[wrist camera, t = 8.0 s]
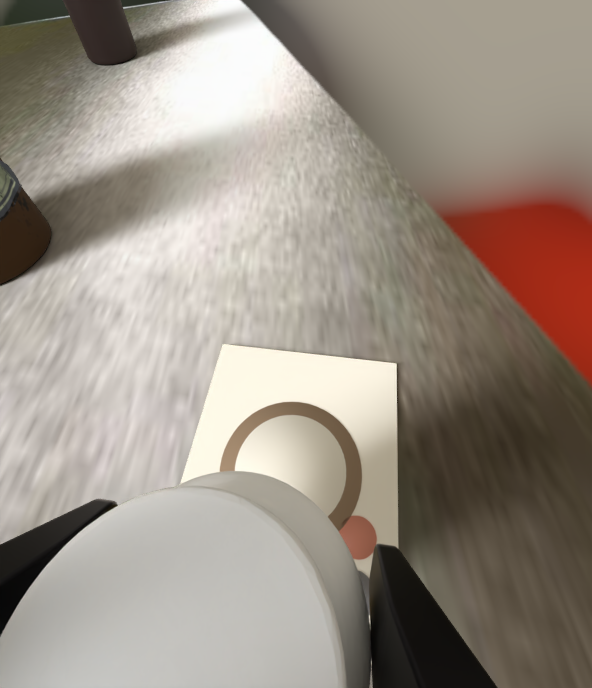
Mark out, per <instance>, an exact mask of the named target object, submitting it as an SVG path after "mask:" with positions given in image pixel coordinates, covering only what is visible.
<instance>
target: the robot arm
mask: <svg viewBox="0 0 592 688" xmlns="http://www.w3.org/2000/svg"><path fill="white" fill-rule="evenodd" d="M117 506H118V505H117V503H116V502H115V501H111V500H105V499H96V500H93V501H91V502H89V503H87V504H85V505H83V506H81V507H78V508H76V509H74V510H72V511H70V512H68V513H66V514H64V515H62V516H60V517H57V518H55V519H53V520H51V521H49V522H47V523H45V524H43V525H41V526H38V527H36V528H34V529H32V530H30V531H28V532H26V533H24V534H22V535H20V536H17V537H15V538H13V539H11V540H9V541H7V542H5V543H3V544H1V545H0V637H1V635H2V632H3V630H4V629H5V627H6V625H7V623H8V621H9V620H10V618H11V616H12V614H13V613H14V611H15V609H16V607H17V606H18V604H19V602H20V601H21V599H22V598H23V596H24V595H25V593H26V592H27V590H28V589H29V587H30V586H31V585H32V583H33V582H34V581H35V579H36V578H37V577H38V576H39V574H40V573H41V572H42V570H43V569H44V568H45V567H46V565H47V564H48V563H49V562H50V561H51V560H52V559H53V558H54V557H55V556H56V555H57V554H58V552H59V551H60V550H61V549H62V548H63V547H64V546H65V545H66V544H67V543H68V542H69V541H70V540H71V539H73V538H74V537H75V536H76V535H77V534H78V533H79V532H80V531H82V530H83V529H84V528H85V527H87V526H88V525H89V524H91V523H92V522H93V521H95V520H96V519H98V518H99V517H100V516H102V515H103V514H105V513H106V512H108V511H110V510H111V509H113V508H115V507H117ZM369 605H370V631H371V661H372V681H373V688H497V686H496V685H495V683H494V682H493V681H492V679H491V678H490V676H489V675H488V674H487V672H486V671H485V669H484V668H483V667H482V665H481V664H480V662H479V661H478V660H477V658H476V657H475V655H474V654H473V653H472V651H471V650H470V648H469V647H468V646H467V644H466V643H465V641H464V640H463V639H462V637H461V636H460V634H459V633H458V632H457V630H456V629H455V627H454V626H453V625H452V623H451V622H450V620H449V619H448V618H447V616H446V615H445V613H444V612H443V611H442V609H441V608H440V606H439V605H438V604H437V602H436V601H435V599H434V598H433V597H432V595H431V594H430V592H429V591H428V590H427V588H426V587H425V585H424V584H423V582H422V581H421V580H420V578H419V577H418V575H417V574H416V573H415V571H414V570H413V568H412V567H411V566H410V564H409V563H408V561H407V560H406V559H405V557H404V556H403V554H402V553H401V552H400V550H399V549H398V548H397V547H395V546H392V545H386V544H380V543H378V544H376V545H375V547H374V552H373V558H372V564H371V571H370V577H369Z"/></svg>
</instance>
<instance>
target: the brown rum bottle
mask: <svg viewBox="0 0 592 688" xmlns="http://www.w3.org/2000/svg"><path fill="white" fill-rule="evenodd" d="M21 186H22V185H21V184H19V181H18V179H17V177H16V176H15V174H14V173H13V171H12V170H11V169H10V167H9V166H8V165H7V164H5V163H4V162H3V161H2V160H1V158H0V284H2V283H4V282H6V281H9V280H11V279H12V278H14V277H16V276H18V275H19V274H21V273H23V272H24V271H25V270H27V269H28V268H29V267H31V266H32V265H33V264H34V263H35V262H36V261H37V260H38V259H39V258H40V257H41V256H42V255H43V253H44V252H45V250H46V249H47V247H48V244H49V242H50V238H51V229H50V226H49V224H48V222H47V221H46V219H45V218H44V216H43V215H42V214H41V212H40V211H39V210H38V208H37V207H36V206H35V204H34V203H33V201H32V200H31V199H30V197H29V196H28V195H27V193H26V192H25V191H24V189H23V188H22V187H21Z"/></svg>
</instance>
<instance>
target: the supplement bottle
mask: <svg viewBox="0 0 592 688" xmlns="http://www.w3.org/2000/svg"><path fill="white" fill-rule="evenodd" d="M370 673H371V631H370V622H369V613H368V608H367V602H366V597H365V593H364V589H363V585H362V581H361V578H360V575H359V572H358V570H357V567H356V564H355V562H354V559H353V557H352V555H351V553H350V551H349V548H348V547H347V545H346V543H345V542H344V540H343V538H342V536H341V535H340V533H339V531H338V530H337V528H336V527H335V526H334V525H333V523H332V522H331V521H330V519H329V518H328V517H327V516H326V514H325V513H324V512H323V511H322V510H321V509H320V508H319V507H318V506H317V505H316V504H315V503H314V502H313V501H311V500H310V499H309V498H308V497H307V496H305V495H304V494H303V493H301V492H300V491H298V490H297V489H295V488H294V487H292V486H290V485H289V484H287V483H285V482H283V481H280V480H278V479H276V478H273V477H270V476H267V475H263V474H259V473H253V472H246V471H224V472H217V473H211V474H207V475H203V476H200V477H197V478H193V479H191V480H188V481H186V482H184V483H181V484H179V485H177V486H176V487H171V488H165V489H161V490H156V491H153V492H150V493H146V494H143V495H141V496H138V497H136V498H133V499H131V500H128V501H126V502H124V503H122V504H120V505H119V506H117V507H115V508H113V509H111V510H110V511H108V512H106V513H105V514H103V515H102V516H100V517H99V518H98V519H96V520H95V521H93V522H92V523H91V524H89V525H88V526H87V527H85V528H84V529H83V530H82V531H80V532H79V533H78V534H77V535H76V536H75V537H74V538H73V539H71V540H70V541H69V542H68V543H67V544H66V545H65V546H64V547H63V548H62V549H61V550H60V551H59V552H58V554H57V555H56V556H55V557H54V558H53V559H52V560H51V561H50V562H49V563H48V564H47V565H46V567H45V568H44V569H43V570H42V572H41V573H40V574H39V576H38V577H37V578H36V579H35V581H34V582H33V583H32V585H31V586H30V587H29V589H28V590H27V592H26V593H25V595H24V596H23V598H22V599H21V601H20V602H19V604H18V606H17V607H16V609H15V611H14V613H13V614H12V616H11V618H10V620H9V621H8V623H7V625H6V627H5V629H4V630H3V632H2V635H1V637H0V688H369V686H370Z"/></svg>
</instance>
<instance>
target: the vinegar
mask: <svg viewBox="0 0 592 688" xmlns="http://www.w3.org/2000/svg"><path fill="white" fill-rule="evenodd" d="M63 2H64V4H65V6H66V8H67V10H68V13H69V15H70V17H71V20H72V22H73V24H74V26H75V29H76V31H77V33H78V35H79V38H80V40H81V42H82V44H83V47H84V49H85V51H86V53H87V56H88V58H89V59H90V60H91V61H92V62H94V63H96V64H101V65H111V64H118V63H122V62H125V61H127V60H130V59H131V58H133V57H134V56H135V55H136V53H137V49H136V45H135V42H134V39H133V36H132V33H131V30H130V27H129V24H128V22H127V19H126V16H125V13H124V10H123V7H122V4H121V1H120V0H63Z"/></svg>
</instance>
